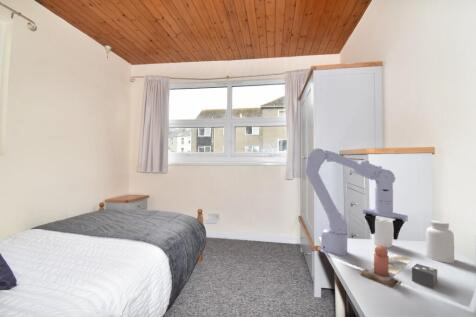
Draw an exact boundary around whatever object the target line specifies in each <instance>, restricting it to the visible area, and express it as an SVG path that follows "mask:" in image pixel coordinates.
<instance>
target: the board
mask: <svg viewBox="0 0 476 317" xmlns="http://www.w3.org/2000/svg"><path fill="white" fill-rule="evenodd" d="M413 260H414V259H413V258H410V257H407V256H404V255H399V254H398V253H393V254H391V255H390V256H389V276H387V277H383V276H379V275H377V274H375V273H374V267H373V268H372V269H367V268H365V269H363V270H362V271H361V272H360V275H361V276H363V277H365V278H368V279H369V280H373V281H375V282H377V283H380V284H382V285H385V286H388V287H391V288H394V287H395V286H396V285H397V284H398V283H399V281H400V280H398V279H395V278H394V277H395V276H396V275H397V274H398V273H400V271H402V270H403V269H404V268H406V266H407V265H408V264H410V263H411V262H412V261H413Z"/></svg>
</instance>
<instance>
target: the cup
mask: <svg viewBox="0 0 476 317" xmlns="http://www.w3.org/2000/svg"><path fill="white" fill-rule="evenodd" d="M393 220H394V219H391V218H385V217H376V219H375V233H374V234H371V236H372V238H371V239H372V243H373V245H375V246H376V247H377V246H384V247H385V248H392V246H393V240H394V238H393V234H394V228H393Z"/></svg>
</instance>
